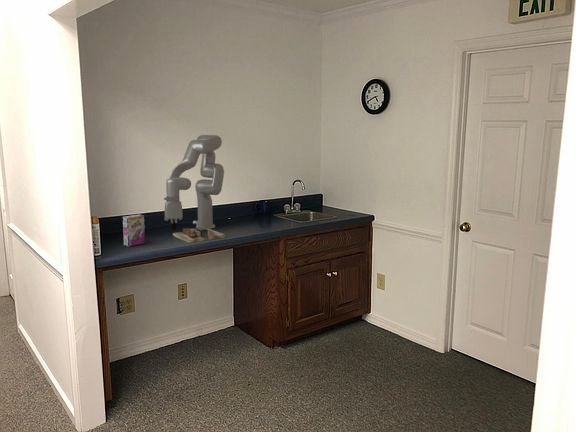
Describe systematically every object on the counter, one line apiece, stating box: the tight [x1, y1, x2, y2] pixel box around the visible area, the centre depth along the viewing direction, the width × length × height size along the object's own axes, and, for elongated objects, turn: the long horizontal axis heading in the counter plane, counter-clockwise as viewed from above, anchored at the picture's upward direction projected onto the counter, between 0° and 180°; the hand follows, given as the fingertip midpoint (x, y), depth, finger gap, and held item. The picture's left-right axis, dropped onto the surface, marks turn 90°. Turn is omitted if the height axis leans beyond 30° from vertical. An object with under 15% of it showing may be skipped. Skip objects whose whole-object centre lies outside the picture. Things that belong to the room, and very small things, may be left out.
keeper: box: [195, 227, 208, 238], centre depth 291 cm, size 4×9×5 cm, turn 37°
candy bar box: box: [122, 214, 146, 247], centre depth 276 cm, size 11×5×16 cm, turn 141°
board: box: [172, 229, 227, 243], centre depth 298 cm, size 24×22×2 cm
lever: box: [182, 227, 197, 238], centre depth 294 cm, size 18×4×5 cm, turn 27°
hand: (173, 229), depth 297 cm, fingers closed
